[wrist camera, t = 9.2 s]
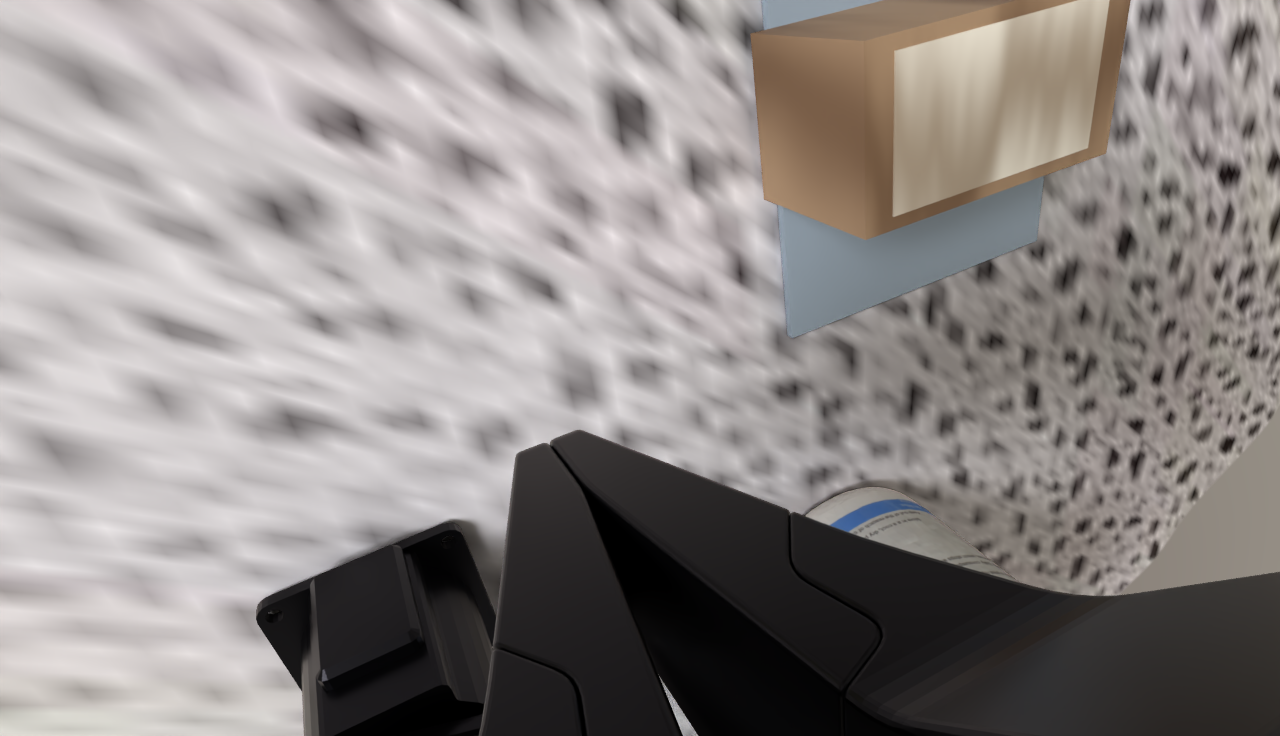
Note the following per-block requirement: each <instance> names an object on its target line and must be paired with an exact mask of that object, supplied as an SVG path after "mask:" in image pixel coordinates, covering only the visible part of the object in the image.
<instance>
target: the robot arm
mask: <svg viewBox="0 0 1280 736" xmlns="http://www.w3.org/2000/svg"><path fill="white" fill-rule="evenodd" d="M447 536H453V538H452V539H451V540H449V541H445V542H444V541H442V540H443V539H444V538H445V537H447ZM272 610H281V612H279V613H277V614H269V612H270V611H272ZM256 620H257V623H258V625H259V627H260V628H261V630H262V631H263V633H264V634H265V636H266V637H267V639H268V640H269V642H270V643H271V645H272V646H273V648H274V649H275V651H276V653H277V654H278V656H279V657H280V659H281V660H282V662H283V663H284V665H285V666H286V668H287V669H288V671H289V672H290V674H291V675H292V677H293V678H294V680H295V681H296V683H297V685H298V686H299V688H300V689H301V691H302V699H303V724H304V736H683V735H682V732H681V730H680V727H679V725H678V723H677V720H676V718H675V715H674V713H673V710H672V708H671V705H670V703H669V700H668V698H667V695H666V693H665V690H664V688H663V685H662V683H661V680H660V678H661V679H662V681H663V682H664V684H665V685H666V687H667V688H668V690H669V691H670V693H671V694H672V696H673V697H674V699H675V700H676V702H677V704H678V705H679V707H680V708H681V710H682V711H683V713H684V714H685V716H686V717H687V719H688V720H689V722H690V723H691V725H692V727H693V728H694V730H695V731H696V733H697V734H698V736H1280V572H1276V573H1269V574H1262V575H1255V576H1249V577H1242V578H1236V579H1229V580H1222V581H1215V582H1208V583H1202V584H1195V585H1188V586H1181V587H1175V588H1168V589H1161V590H1155V591H1148V592H1141V593H1134V594H1127V595H1117V596H1087V595H1074V594H1068V593H1062V592H1055V591H1050V590H1046V589H1042V588H1038V587H1034V586H1030V585H1026V584H1023V583H1019V582H1016V581H1012V580H1009V579H1005V578H1002V577H998V576H994V575H991V574H987V573H984V572H980V571H977V570H973V569H970V568H966V567H963V566H959V565H955V564H952V563H948V562H945V561H941V560H938V559H934V558H931V557H927V556H924V555H920V554H916V553H913V552H910V551H906V550H903V549H900V548H897V547H893V546H890V545H887V544H883V543H880V542H877V541H874V540H870V539H867V538H864V537H861V536H858V535H855V534H853V533H850V532H847V531H844V530H841V529H839V528H836V527H833V526H830V525H827V524H825V523H822V522H819V521H816V520H814V519H811V518H809V517H806V516H804V515H801V514H798V513H796V512H793V513H791V514H790V512H789V511H788V510H787V509H785V508H782V507H780V506H777V505H774V504H772V503H769V502H767V501H764V500H761V499H759V498H756V497H754V496H751V495H749V494H746V493H743V492H741V491H738V490H736V489H733V488H730V487H728V486H725V485H723V484H720V483H717V482H715V481H712V480H710V479H707V478H705V477H702V476H699V475H697V474H694V473H692V472H689V471H686V470H684V469H681V468H679V467H676V466H673V465H671V464H668V463H666V462H663V461H661V460H658V459H655V458H653V457H650V456H648V455H645V454H642V453H640V452H637V451H635V450H632V449H629V448H627V447H624V446H622V445H619V444H617V443H614V442H611V441H609V440H606V439H604V438H601V437H598V436H596V435H593V434H591V433H588V432H585V431H583V430H575V431H573V432H570V433H568V434H565V435H562V436H560V437H557V438H555V439H553V440H552V441H551V442H550V445H549V444H547V443H542V444H539V445H537V446H534V447H531V448H529V449H526V450H524V451H521V452H519V453H518V454H517V455H516V458H515V465H514V473H513V482H512V490H511V498H510V507H509V515H508V523H507V532H506V540H505V548H504V557H503V565H502V573H501V582H500V590H499V598H498V606H497V615H495V612H494V610H493V607H492V605H491V602H490V600H489V597H488V595H487V592H486V590H485V587H484V585H483V582H482V580H481V577H480V575H479V572H478V570H477V567H476V565H475V562H474V560H473V557H472V555H471V552H470V550H469V547H468V545H467V543H466V540H465V538H464V535H463V533H462V530H461V528H460V527H459V526H458V525H457V524H455V523H444V524H441V525H438V526H436V527H433V528H431V529H429V530H426V531H424V532H422V533H419V534H417V535H414V536H412V537H410V538H407V539H405V540H402V541H400V542H398V543H395V544H393V545H390V546H387V547H385V548H382V549H380V550H378V551H375V552H373V553H370V554H368V555H366V556H363V557H361V558H358V559H356V560H354V561H351V562H349V563H346V564H344V565H342V566H339V567H337V568H334V569H332V570H330V571H327V572H325V573H322V574H320V575H318V576H316V577H314V578H311V579H309V580H306V581H304V582H302V583H299V584H297V585H294V586H292V587H290V588H287V589H285V590H282V591H280V592H278V593H275V594H273V595H271V596H268V597H266V598H265V599H263V600H262V601H261V602H260V603H259V604H258V606H257V610H256ZM492 647H493V648H492ZM658 674H659V675H658ZM659 676H660V678H659Z"/></svg>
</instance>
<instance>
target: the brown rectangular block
mask: <svg viewBox="0 0 1280 736" xmlns="http://www.w3.org/2000/svg"><path fill="white" fill-rule="evenodd" d="M1129 6H1130V0H882V1H879V2H875V3H871V4H867V5H863V6H859V7H855V8H851V9H847V10H843V11H839V12H835V13H831V14H827V15H823V16H819V17H815V18H811V19H807V20H803V21H799V22H795V23H791V24H787V25H783V26H779V27H775V28H771V29H767V30H763V31H759V32H755V33H751V45H752V57H753V69H754V82H755V94H756V106H757V118H758V131H759V143H760V155H761V167H762V180H763V192H764V199H765V200H767V201H770V202H772V203H775V204H777V205H780V206H782V207H785V208H787V209H790V210H792V211H795V212H797V213H800V214H802V215H804V216H807V217H809V218H812V219H814V220H817V221H819V222H822V223H824V224H827V225H829V226H832V227H834V228H837V229H839V230H842V231H844V232H847V233H849V234H852V235H854V236H857V237H859V238H862V239H864V240H867V239H870V238H873V237H876V236H879V235H881V234H884V233H887V232H890V231H892V230H895V229H898V228H901V227H903V226H906V225H909V224H912V223H915V222H917V221H920V220H923V219H926V218H928V217H931V216H934V215H937V214H939V213H942V212H945V211H948V210H951V209H953V208H956V207H959V206H962V205H964V204H967V203H970V202H973V201H975V200H978V199H981V198H984V197H986V196H989V195H992V194H995V193H998V192H1000V191H1003V190H1006V189H1009V188H1011V187H1014V186H1017V185H1020V184H1022V183H1025V182H1028V181H1031V180H1034V179H1036V178H1039V177H1042V176H1045V175H1047V174H1050V173H1053V172H1056V171H1058V170H1061V169H1064V168H1067V167H1070V166H1072V165H1075V164H1078V163H1081V162H1083V161H1086V160H1089V159H1092V158H1094V157H1097V156H1100V155H1103V154H1106V150H1107V144H1108V138H1109V131H1110V125H1111V119H1112V113H1113V106H1114V100H1115V94H1116V88H1117V81H1118V75H1119V69H1120V63H1121V56H1122V50H1123V44H1124V38H1125V31H1126V25H1127V19H1128V13H1129Z"/></svg>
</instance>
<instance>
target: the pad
mask: <svg viewBox="0 0 1280 736" xmlns="http://www.w3.org/2000/svg"><path fill="white" fill-rule="evenodd" d="M879 1H882V0H762V10H763V23H764V30H767V29H771V28H775V27H779V26H783V25H787V24H791V23H795V22H799V21H803V20H807V19H811V18H815V17H819V16H823V15H827V14H831V13H835V12H839V11H843V10H847V9H851V8H855V7H859V6H863V5H867V4H871V3H875V2H879ZM1043 182H1044V176H1042V177H1039V178H1036V179H1034V180H1031V181H1028V182H1025V183H1022V184H1020V185H1017V186H1014V187H1011V188H1009V189H1006V190H1003V191H1000V192H998V193H995V194H992V195H989V196H986V197H984V198H981V199H978V200H975V201H973V202H970V203H967V204H964V205H962V206H959V207H956V208H953V209H951V210H948V211H945V212H942V213H939V214H937V215H934V216H931V217H928V218H926V219H923V220H920V221H917V222H915V223H912V224H909V225H906V226H903V227H901V228H898V229H895V230H892V231H890V232H887V233H884V234H881V235H879V236H876V237H873V238H870V239H867V240H864V239H862V238H859V237H857V236H854V235H852V234H849V233H847V232H844V231H842V230H839V229H837V228H834V227H832V226H829V225H827V224H824V223H822V222H819V221H817V220H814V219H812V218H809V217H807V216H804V215H802V214H800V213H797V212H795V211H792V210H790V209H787V208H785V207H782V206H780V205H778V218H779V231H780V244H781V257H782V270H783V283H784V296H785V309H786V322H787V335H788V336H789V337H791V338H794V337H797V336H799V335H802V334H804V333H807V332H809V331H812V330H814V329H817V328H819V327H822V326H824V325H827V324H830V323H832V322H835V321H837V320H840V319H842V318H845V317H847V316H850V315H852V314H855V313H857V312H860V311H862V310H865V309H867V308H870V307H872V306H875V305H877V304H880V303H882V302H885V301H887V300H890V299H892V298H895V297H897V296H900V295H902V294H905V293H907V292H910V291H912V290H915V289H917V288H920V287H922V286H925V285H927V284H930V283H932V282H935V281H937V280H940V279H942V278H945V277H947V276H950V275H952V274H955V273H957V272H960V271H962V270H965V269H967V268H970V267H972V266H975V265H977V264H980V263H982V262H985V261H987V260H990V259H992V258H995V257H997V256H1000V255H1002V254H1005V253H1007V252H1010V251H1012V250H1015V249H1017V248H1020V247H1022V246H1025V245H1027V244H1030V243H1032V242H1035V241H1037V234H1038V226H1039V217H1040V208H1041V200H1042V191H1043Z"/></svg>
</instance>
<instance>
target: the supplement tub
mask: <svg viewBox="0 0 1280 736" xmlns="http://www.w3.org/2000/svg"><path fill="white" fill-rule="evenodd" d="M805 516H806V517H809V518H811V519H814V520H816V521H819V522H822V523H825V524H827V525H830V526H833V527H836V528H839V529H841V530H844V531H847V532H850V533H853V534H855V535H858V536H861V537H864V538H867V539H870V540H874V541H877V542H880V543H883V544H887V545H890V546H893V547H897V548H900V549H903V550H906V551H910V552H913V553H916V554H920V555H924V556H927V557H931V558H934V559H938V560H941V561H945V562H948V563H952V564H955V565H959V566H963V567H966V568H970V569H973V570H977V571H980V572H984V573H987V574H991V575H994V576H998V577H1002V578H1005V579H1009V580H1012V581H1016V582H1018V581H1017V580H1016V579H1014V578H1013V577H1012V576H1011V575H1009V574H1008V573H1007V572H1005V571H1004V570H1003V569H1002V568H1000V567H999V566H998V565H996V564H995V563H994V562H993V561H991V560H990V559H989V558H987V557H986V556H985V555H984V554H982V553H981V552H980V551H979V550H977V549H976V548H975V547H973V546H972V545H971V544H970V543H968V542H967V541H966V540H964V539H963V538H962V537H961V536H959V535H958V534H957V533H955V532H954V531H953V530H952V529H950V528H949V527H948V526H947V525H945V524H944V523H943V522H941V521H940V520H939V519H938V518H936V517H935V516H934V515H933V514H931V513H930V512H929V511H927V510H926V509H925V508H923V507H922V506H920V505H919V504H918V503H916V502H915V501H914V500H912V499H911V498H909V497H908V496H906V495H904V494H902V493H900V492H898V491H895V490H892V489H887V488H881V487H866V488H860V489H855V490H851V491H848V492H845V493H842V494H840V495H837V496H835V497H833V498H831V499H829V500H828V501H826V502H824V503H822V504H820V505H819V506H817V507H816V508H814V509H813V510H812V511H810V512H809V513H808V514H807V515H805ZM1019 583H1020V582H1019Z"/></svg>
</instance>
